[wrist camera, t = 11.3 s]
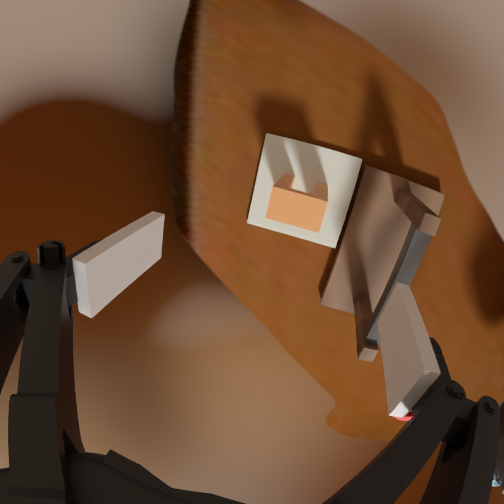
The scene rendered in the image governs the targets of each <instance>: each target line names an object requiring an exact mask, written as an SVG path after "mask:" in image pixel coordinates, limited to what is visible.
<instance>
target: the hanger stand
mask: <svg viewBox="0 0 504 504" xmlns="http://www.w3.org/2000/svg"><path fill="white" fill-rule="evenodd" d="M444 197H445V195H444V194H443V193H441V192H439V191H436V190H434V189H431V188H429V187H426V186H424V185H421V184H419V183H416V182H414V181H411V180H408V179H406V178H403V177H400V176H397V175H395V174H392V173H389V172H386V171H383V170H380V169H377V168H374V167H371V166H368V165H365V166H364V169H363V173H362V176H361V180H360V183H359V187H358V190H357V193H356V197H355V200H354V203H353V206H352V210H351V213H350V216H349V219H348V222H347V225H346V228H345V231H344V234H343V237H342V240H341V243H340V246H339V249H338V252H337V255H336V258H335V261H334V264H333V266H332V269H331V272H330V275H329V277H328V280H327V283H326V286H325V288H324V291H323V294H322V296H321V301H320V305H324V306H327V307H331V308H334V309H338V310H342V311H345V312H349V313H352V314H355V324H356V338H357V354H358V359H361V360H365V361H369V362H372V361H373V359H374V357H375V356H376V354H377V352H378V345H379V343H380V338H379V332H378V326H377V322H378V320H379V318H380V316H381V314H382V312H383V310H384V308H385V306H386V304H387V302H388V300H389V298H390V296H391V294H392V291H393V289H394V287H395V285H396V283H397V282H398V283H401V284H405V285H408V286H410V284H411V282H412V280H413V278H414V275H415V273H416V271H417V269H418V266H419V264H420V262H421V260H422V257H423V255H424V253H425V250H426V248H427V245H428V243H429V240H430V238H431V236H434V237H435V234H436V232H437V229H438V227H439V224H440V221H441V218H440V217H439V216H438V214H439V212H440V209H441V206H442V203H443V200H444Z"/></svg>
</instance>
